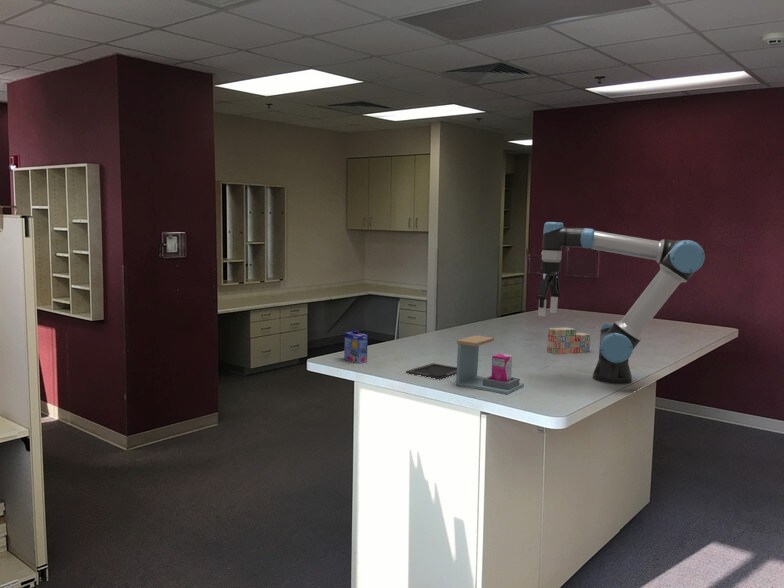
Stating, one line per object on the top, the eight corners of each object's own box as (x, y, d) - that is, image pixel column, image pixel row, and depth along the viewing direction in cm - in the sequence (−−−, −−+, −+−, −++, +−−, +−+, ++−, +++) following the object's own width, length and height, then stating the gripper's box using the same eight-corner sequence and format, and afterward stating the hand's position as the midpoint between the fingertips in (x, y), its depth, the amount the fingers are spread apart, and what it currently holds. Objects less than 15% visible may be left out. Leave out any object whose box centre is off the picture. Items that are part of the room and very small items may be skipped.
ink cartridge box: (343, 359, 290) (344, 327, 288) (352, 358, 294) (353, 326, 292) (358, 363, 283) (359, 330, 281) (367, 362, 287) (368, 329, 285)
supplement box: (497, 382, 254) (499, 353, 253) (511, 385, 251) (513, 355, 250) (490, 385, 250) (492, 355, 249) (504, 387, 246) (506, 357, 245)
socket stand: (523, 386, 254) (526, 342, 252) (507, 394, 241) (510, 348, 239) (473, 377, 265) (475, 335, 264) (454, 384, 252) (457, 340, 250)
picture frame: (439, 381, 259) (465, 372, 277) (440, 376, 259) (465, 367, 276) (405, 374, 268) (432, 366, 286) (406, 369, 268) (432, 362, 285)
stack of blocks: (581, 350, 337) (583, 326, 336) (589, 352, 331) (591, 328, 330) (546, 352, 328) (548, 327, 327) (554, 354, 323) (556, 329, 321)
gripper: (552, 259, 274) (549, 310, 276) (530, 261, 253) (527, 316, 255) (570, 261, 270) (566, 312, 272) (549, 262, 249) (545, 318, 251)
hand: (547, 314), depth 263 cm, fingers open, 13 cm apart
